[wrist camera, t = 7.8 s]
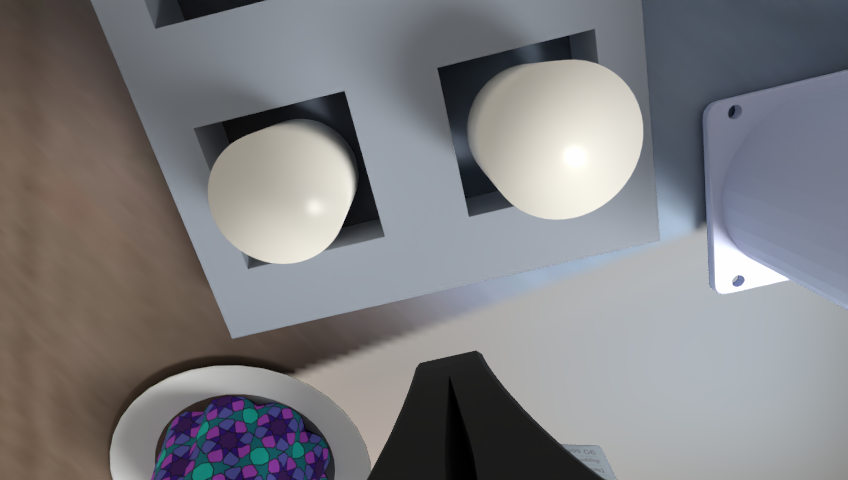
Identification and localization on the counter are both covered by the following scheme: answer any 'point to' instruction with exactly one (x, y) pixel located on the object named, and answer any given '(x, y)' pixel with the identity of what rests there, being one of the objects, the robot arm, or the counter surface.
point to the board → (369, 138)
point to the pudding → (237, 431)
